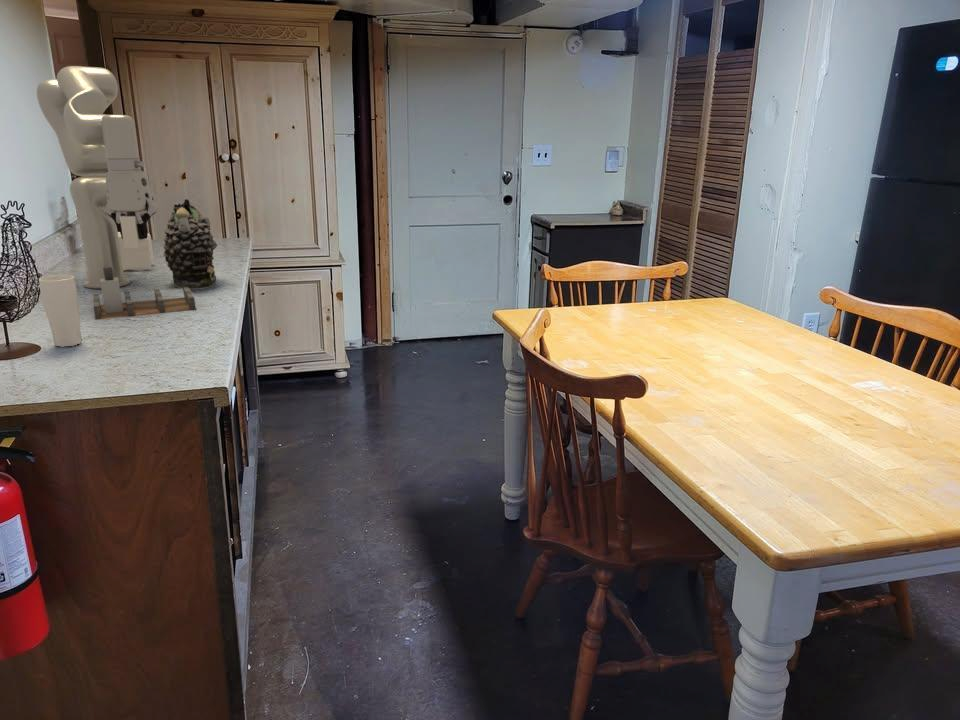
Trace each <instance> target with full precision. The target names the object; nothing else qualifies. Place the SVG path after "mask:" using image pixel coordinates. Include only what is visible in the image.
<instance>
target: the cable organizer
mask: <svg viewBox="0 0 960 720" xmlns="http://www.w3.org/2000/svg"><path fill="white" fill-rule="evenodd" d="M117 232H118V238H119V245H120V252H121V259H122V265H123V272H125V271H128V270H129V271H130V270H133V271H134V272H135V271H136V272H138V271H146V270H147V269H149V268H150V267H152V265H153V262H154V260H155V259H154V251H153V244H152V243H153V242H152V237H151V234H150V233H148V235H147V236H148V237H147V238H146V239H147V246H144V247H140V248H124V241H123V239H122V237H121V234H120V231H117Z"/></svg>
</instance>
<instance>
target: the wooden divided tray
mask: <svg viewBox="0 0 960 720" xmlns="http://www.w3.org/2000/svg"><path fill="white" fill-rule="evenodd" d="M182 289H183V297H175V298H165V299H164V298H163V296H162V293H161V290H160V288H157V289H154V300H153V299H152V300H151V299H150V300H142V301H132V297H131V293H130V291H124V292H123V293H124V299H125V302H122V307H123V312H112V313H105V307H104V304H101V301H100V295H99V293H97V294H96V293H95V294H93V295H92V296H93V297H92V298H93V311H94V319H95V320H105V319H106V320H107V319H114V318H115V319H116V318H117V319H118V318H124V317H125V318H126V317H136V316H147V315H155V314H156V315H157V314H167V313H177V312H178V313H179V312H188V311H197V309H196V301H195V300H196V299H195V297H194V294H193V293H192V292H191V289H189V288H188V287H183V288H182Z"/></svg>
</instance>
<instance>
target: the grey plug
mask: <svg viewBox="0 0 960 720" xmlns="http://www.w3.org/2000/svg"><path fill="white" fill-rule="evenodd" d="M103 272H104V278H102V279H100V282H101V288H100V289H101V292H102V293H101V294H102V302H103V305H104V307H105V313H112V312H123V307H122V303H123V301H122V295H121V289H120V288H121V286H120V287H119V281H118V277H115V278H113V271H112V267H104V268H103Z"/></svg>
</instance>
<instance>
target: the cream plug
mask: <svg viewBox="0 0 960 720" xmlns="http://www.w3.org/2000/svg"><path fill="white" fill-rule="evenodd" d="M120 222H121V228H122V235H123V241H124V248H140V247H144V246H147V239H146V238H145V239H139V237H138V230H137V224H138V220H137V217H136V214H135V212H127V215H125V216H120Z"/></svg>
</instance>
